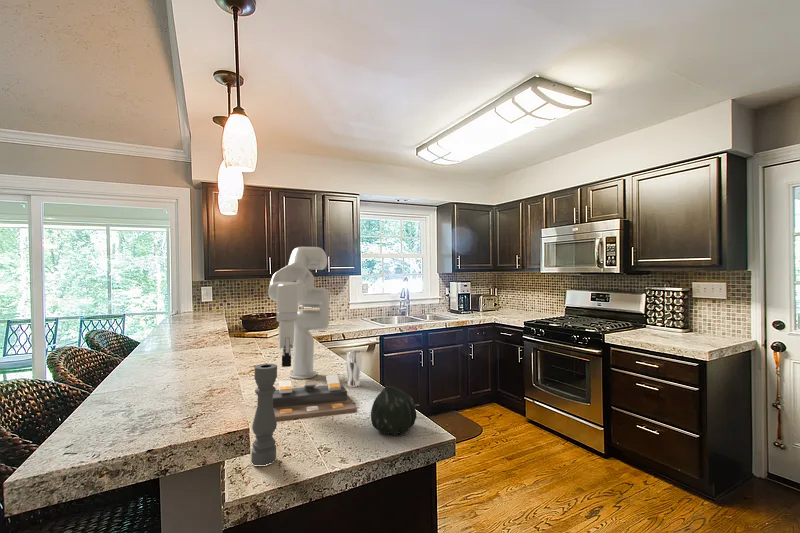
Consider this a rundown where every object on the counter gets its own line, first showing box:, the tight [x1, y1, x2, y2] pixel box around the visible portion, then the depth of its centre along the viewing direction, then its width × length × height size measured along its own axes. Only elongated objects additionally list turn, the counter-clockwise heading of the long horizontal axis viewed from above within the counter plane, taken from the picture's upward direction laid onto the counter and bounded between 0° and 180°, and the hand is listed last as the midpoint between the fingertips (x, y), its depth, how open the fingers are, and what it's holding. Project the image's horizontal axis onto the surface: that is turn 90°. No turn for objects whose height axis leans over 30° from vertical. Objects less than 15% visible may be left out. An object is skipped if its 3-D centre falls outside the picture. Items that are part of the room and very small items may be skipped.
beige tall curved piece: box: [345, 349, 363, 388], centre depth 165 cm, size 7×7×15 cm
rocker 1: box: [278, 379, 293, 393], centre depth 138 cm, size 8×4×2 cm, turn 19°
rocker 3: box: [325, 374, 341, 391], centre depth 144 cm, size 8×4×1 cm, turn 19°
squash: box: [370, 385, 418, 436], centre depth 118 cm, size 14×15×15 cm
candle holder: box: [250, 363, 278, 465], centre depth 98 cm, size 6×6×25 cm
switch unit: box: [273, 383, 357, 422], centre depth 139 cm, size 22×30×6 cm
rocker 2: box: [302, 380, 318, 388], centre depth 142 cm, size 8×4×2 cm, turn 21°
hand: (286, 366), depth 136 cm, fingers closed
